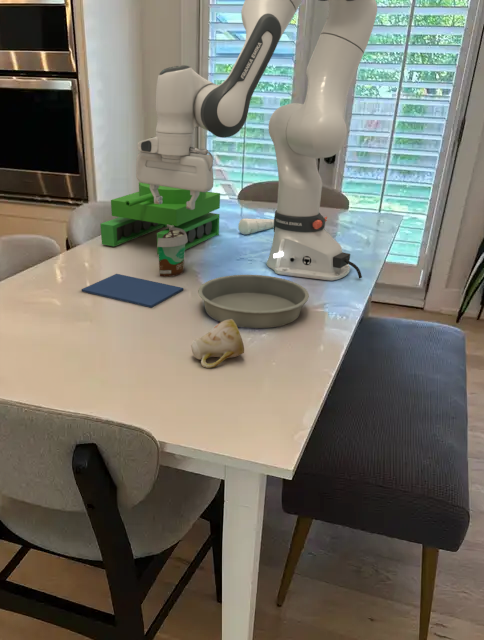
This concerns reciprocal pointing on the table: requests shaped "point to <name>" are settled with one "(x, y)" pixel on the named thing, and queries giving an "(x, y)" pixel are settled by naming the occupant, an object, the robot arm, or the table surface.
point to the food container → (172, 252)
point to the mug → (219, 343)
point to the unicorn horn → (254, 225)
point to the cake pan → (253, 300)
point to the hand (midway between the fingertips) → (174, 206)
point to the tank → (161, 215)
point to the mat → (133, 290)
